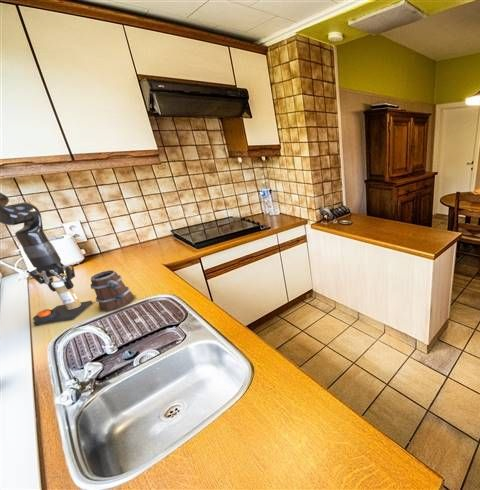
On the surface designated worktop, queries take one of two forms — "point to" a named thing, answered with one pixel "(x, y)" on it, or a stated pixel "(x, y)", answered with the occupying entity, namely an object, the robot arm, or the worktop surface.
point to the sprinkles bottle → (66, 295)
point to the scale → (61, 314)
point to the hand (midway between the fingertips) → (63, 289)
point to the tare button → (44, 313)
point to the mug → (110, 290)
